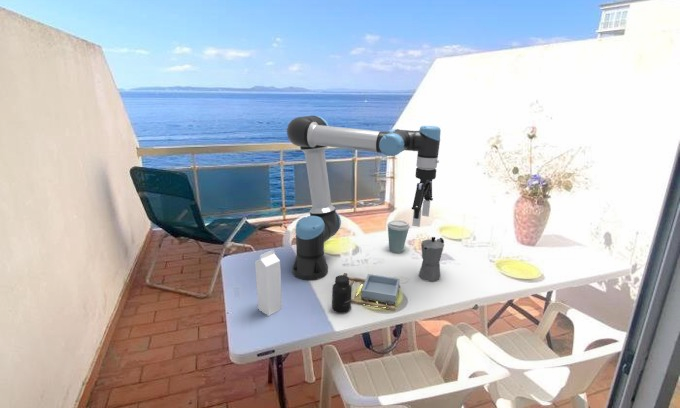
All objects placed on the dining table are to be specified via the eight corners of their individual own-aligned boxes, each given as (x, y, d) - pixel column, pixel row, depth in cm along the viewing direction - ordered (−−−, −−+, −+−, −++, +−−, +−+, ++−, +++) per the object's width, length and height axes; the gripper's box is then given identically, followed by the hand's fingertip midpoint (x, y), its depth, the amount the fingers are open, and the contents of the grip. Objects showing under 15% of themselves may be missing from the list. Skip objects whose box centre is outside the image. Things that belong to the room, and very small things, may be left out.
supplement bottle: (349, 315, 119) (350, 284, 116) (329, 312, 120) (330, 282, 117) (352, 304, 125) (353, 274, 122) (334, 301, 127) (334, 272, 123)
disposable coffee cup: (382, 247, 173) (383, 219, 169) (401, 245, 177) (403, 217, 172) (391, 256, 164) (393, 226, 159) (411, 253, 167) (414, 224, 162)
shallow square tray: (360, 301, 126) (360, 291, 125) (368, 282, 139) (368, 273, 138) (394, 307, 123) (395, 296, 122) (399, 287, 136) (400, 277, 135)
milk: (282, 308, 122) (280, 252, 116) (268, 316, 118) (266, 258, 111) (270, 302, 126) (268, 246, 119) (257, 309, 121) (254, 252, 115)
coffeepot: (431, 286, 138) (435, 245, 133) (411, 278, 144) (414, 238, 139) (449, 273, 149) (454, 234, 143) (430, 266, 155) (434, 228, 150)
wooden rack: (332, 299, 128) (332, 294, 127) (344, 278, 143) (344, 273, 143) (394, 310, 122) (395, 304, 121) (400, 286, 137) (400, 281, 137)
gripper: (427, 175, 118) (421, 232, 124) (443, 163, 139) (437, 213, 145) (406, 172, 121) (401, 228, 127) (425, 161, 142) (420, 210, 149)
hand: (420, 220), depth 136 cm, fingers open, 13 cm apart
